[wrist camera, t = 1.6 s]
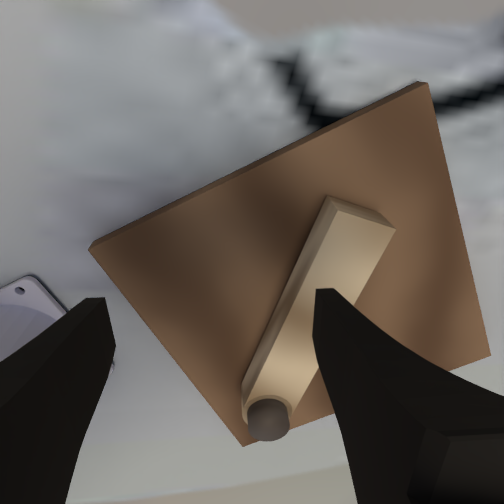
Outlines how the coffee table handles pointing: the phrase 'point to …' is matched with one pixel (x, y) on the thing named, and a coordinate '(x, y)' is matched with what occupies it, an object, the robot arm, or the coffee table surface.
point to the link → (309, 312)
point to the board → (291, 245)
